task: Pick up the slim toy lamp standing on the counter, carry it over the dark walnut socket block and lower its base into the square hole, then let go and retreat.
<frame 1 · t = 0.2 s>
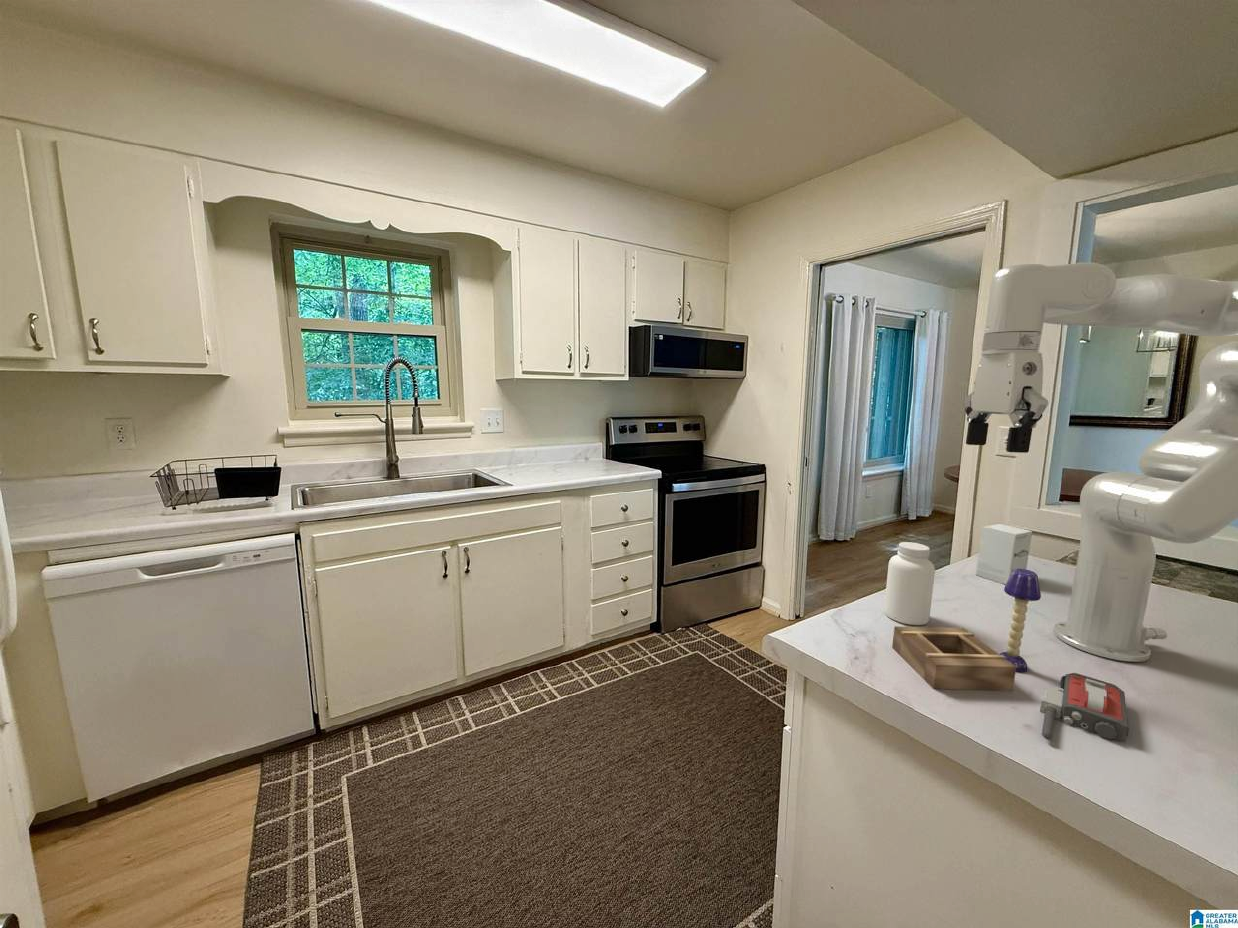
hand: (995, 448, 83), 36 cm above the counter, tool pointing down, fingers open, 9 cm apart
pill bottle: (905, 617, 99), on the counter
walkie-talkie: (1080, 723, 69), on the counter
socket: (947, 667, 81), on the counter
toy lamp: (1010, 666, 82), on the counter
supplement box: (999, 578, 120), on the counter
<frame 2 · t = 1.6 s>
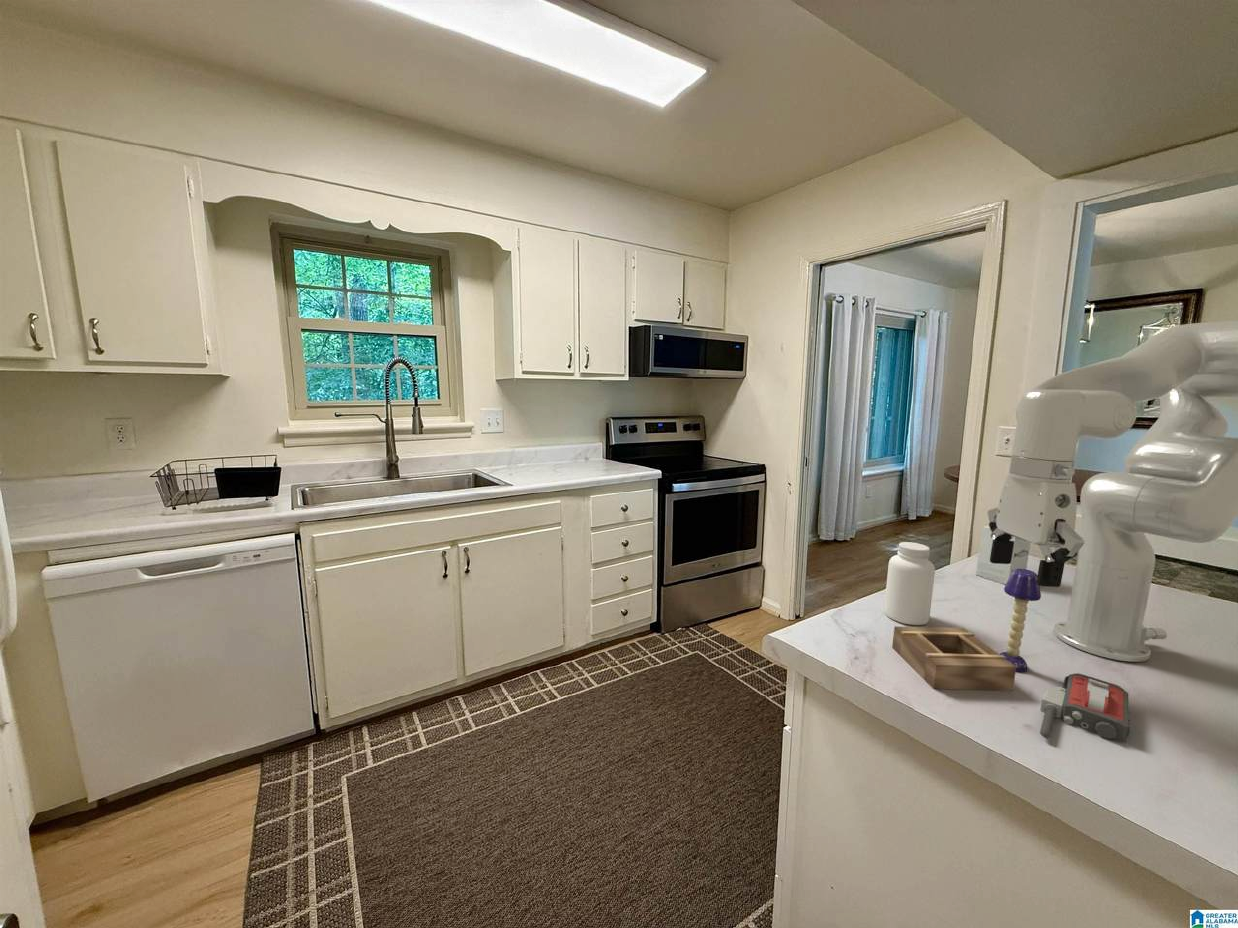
hand: (1022, 573, 79), 16 cm above the counter, tool pointing down, fingers open, 9 cm apart
nothing on the counter moved.
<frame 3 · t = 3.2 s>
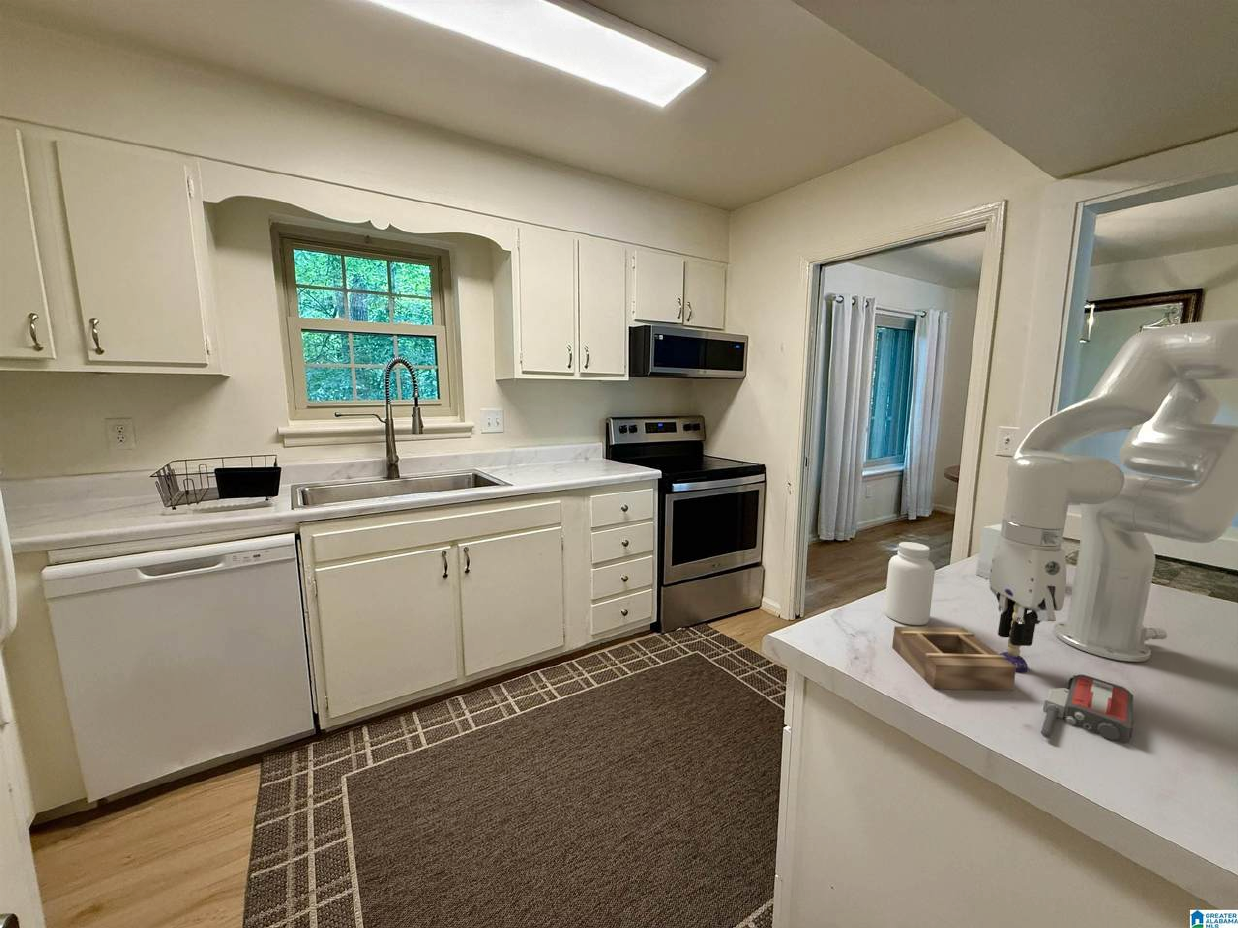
hand: (1014, 639, 81), 5 cm above the counter, tool pointing down, fingers closed on toy lamp
toy lamp: (1010, 666, 82), on the counter, touching gripper
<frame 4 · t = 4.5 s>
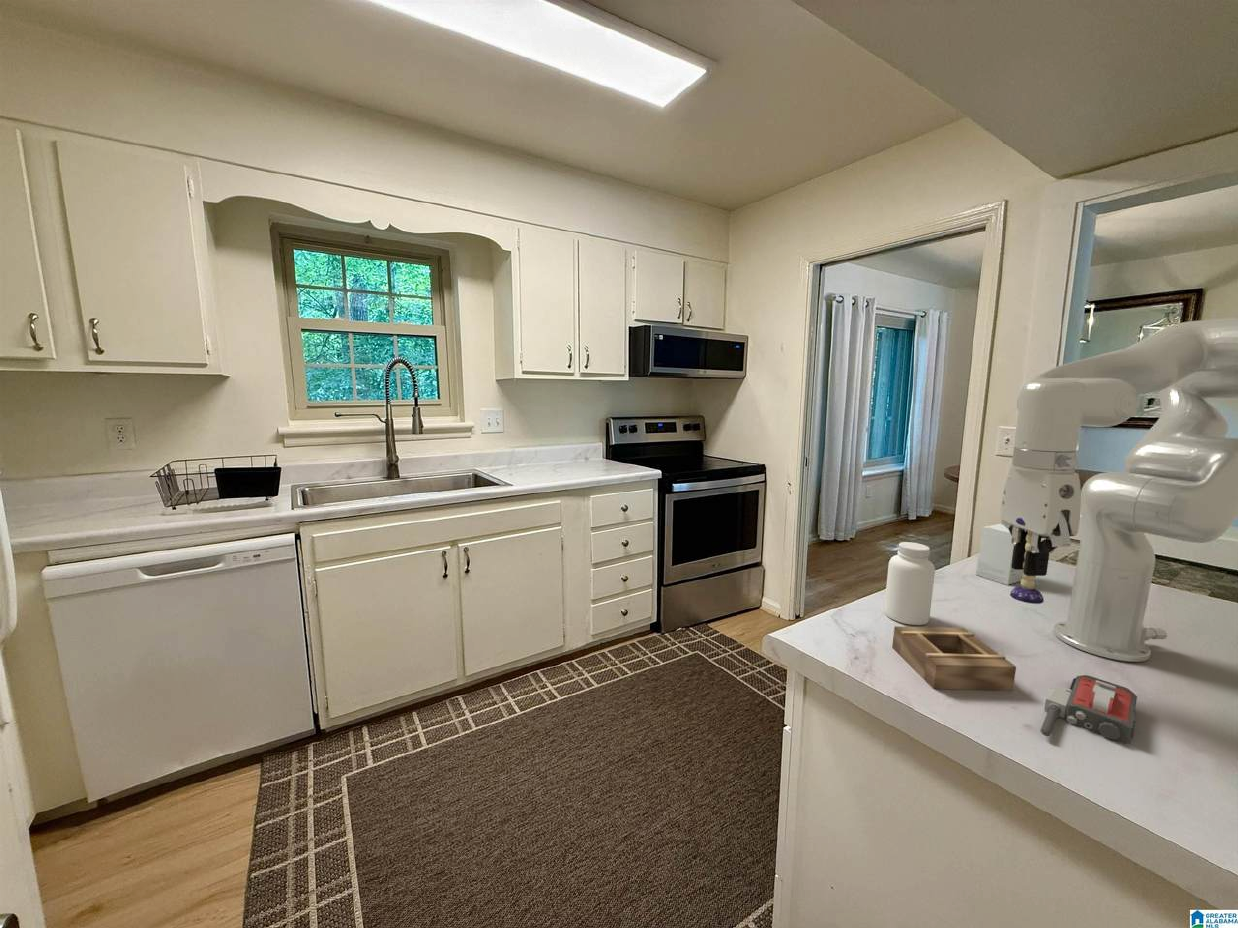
hand: (1028, 571, 79), 17 cm above the counter, tool pointing down, fingers closed on toy lamp
toy lamp: (1025, 600, 80), point 12 cm above the counter, touching gripper
everything else where it was.
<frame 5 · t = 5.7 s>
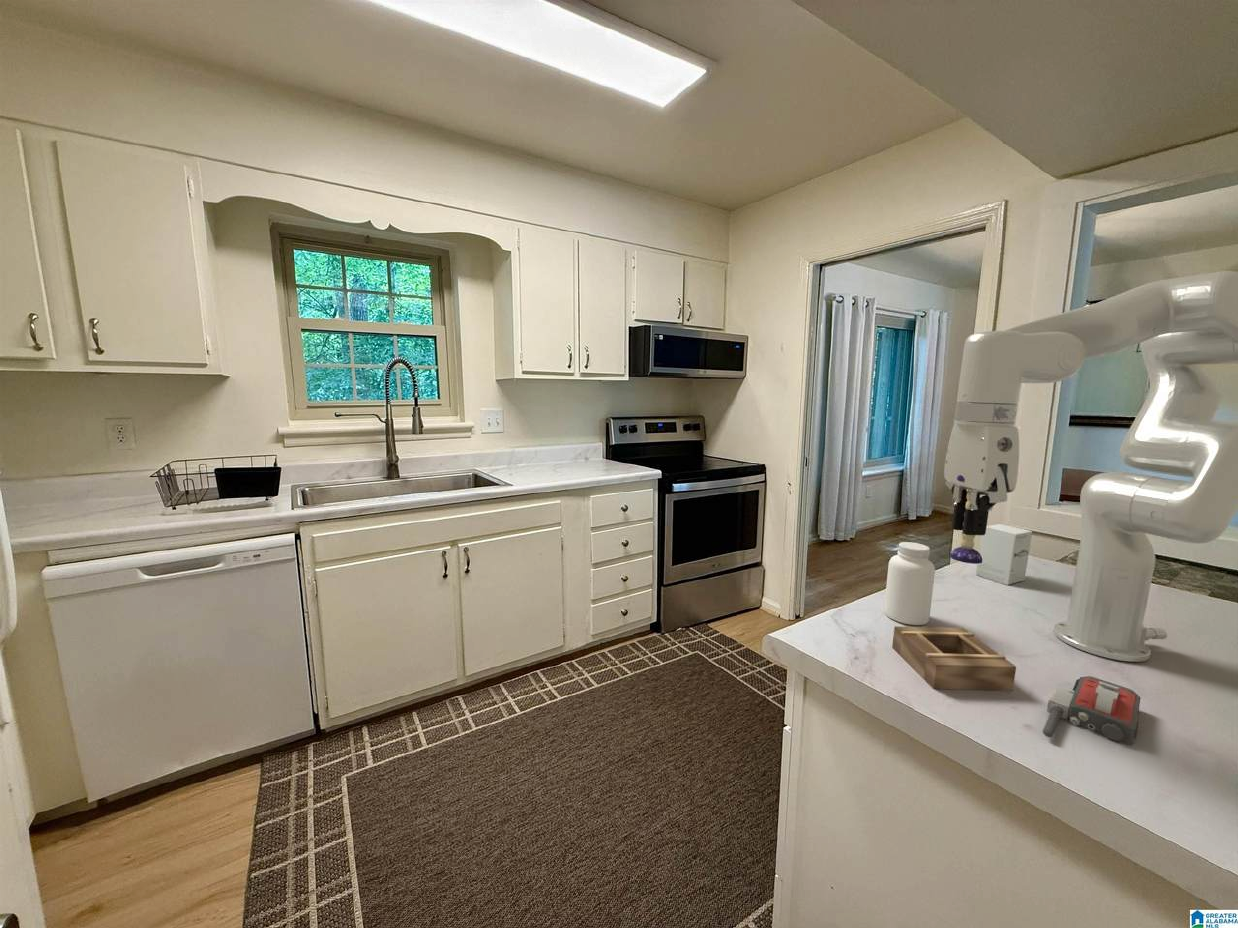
hand: (968, 531, 77), 23 cm above the counter, tool pointing down, fingers closed on toy lamp
toy lamp: (965, 561, 78), point 19 cm above the counter, touching gripper
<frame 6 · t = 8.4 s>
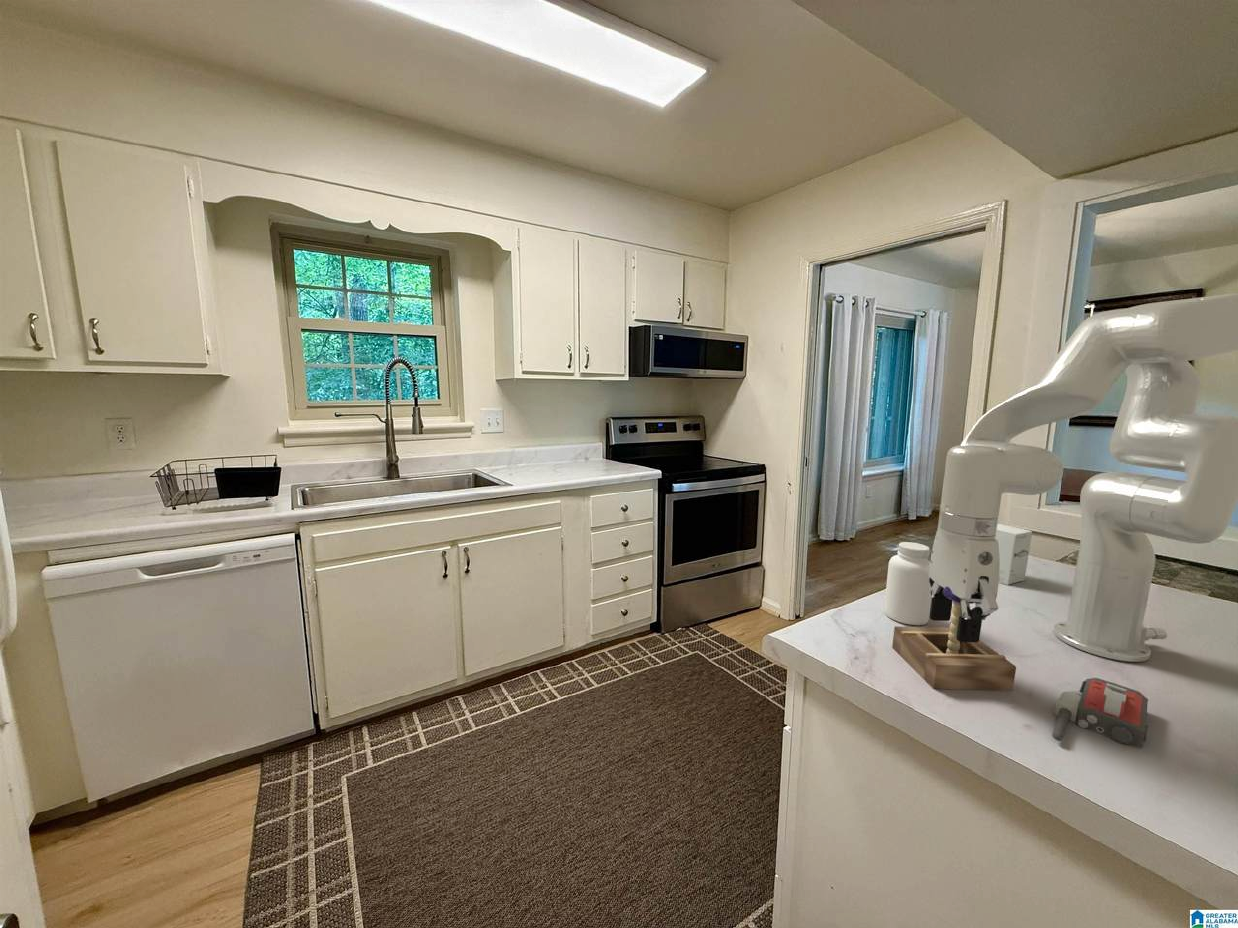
hand: (952, 629, 80), 7 cm above the counter, tool pointing down, fingers open, 6 cm apart
toy lamp: (950, 669, 81), resting in socket
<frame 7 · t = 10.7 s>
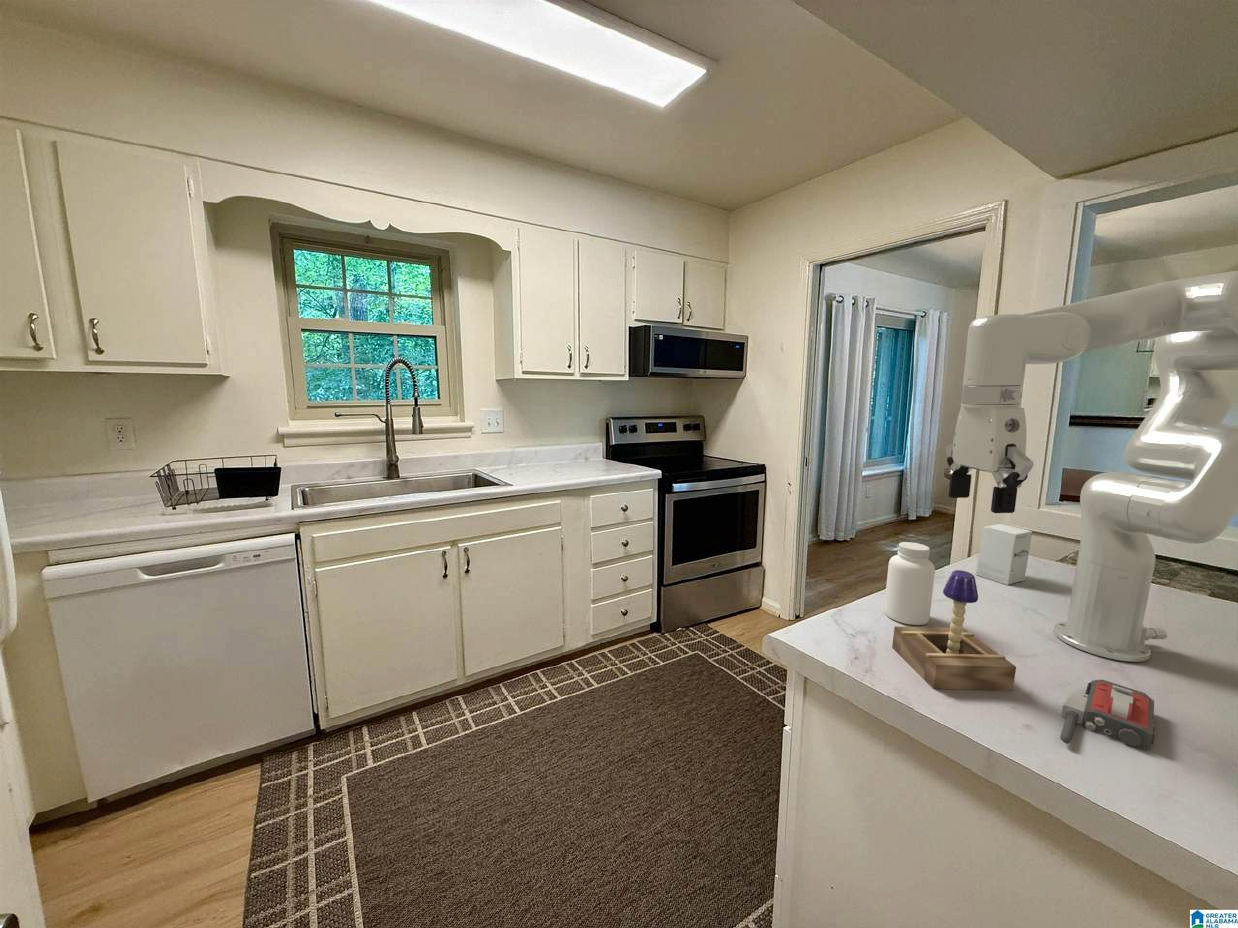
hand: (979, 504, 79), 27 cm above the counter, tool pointing down, fingers open, 9 cm apart
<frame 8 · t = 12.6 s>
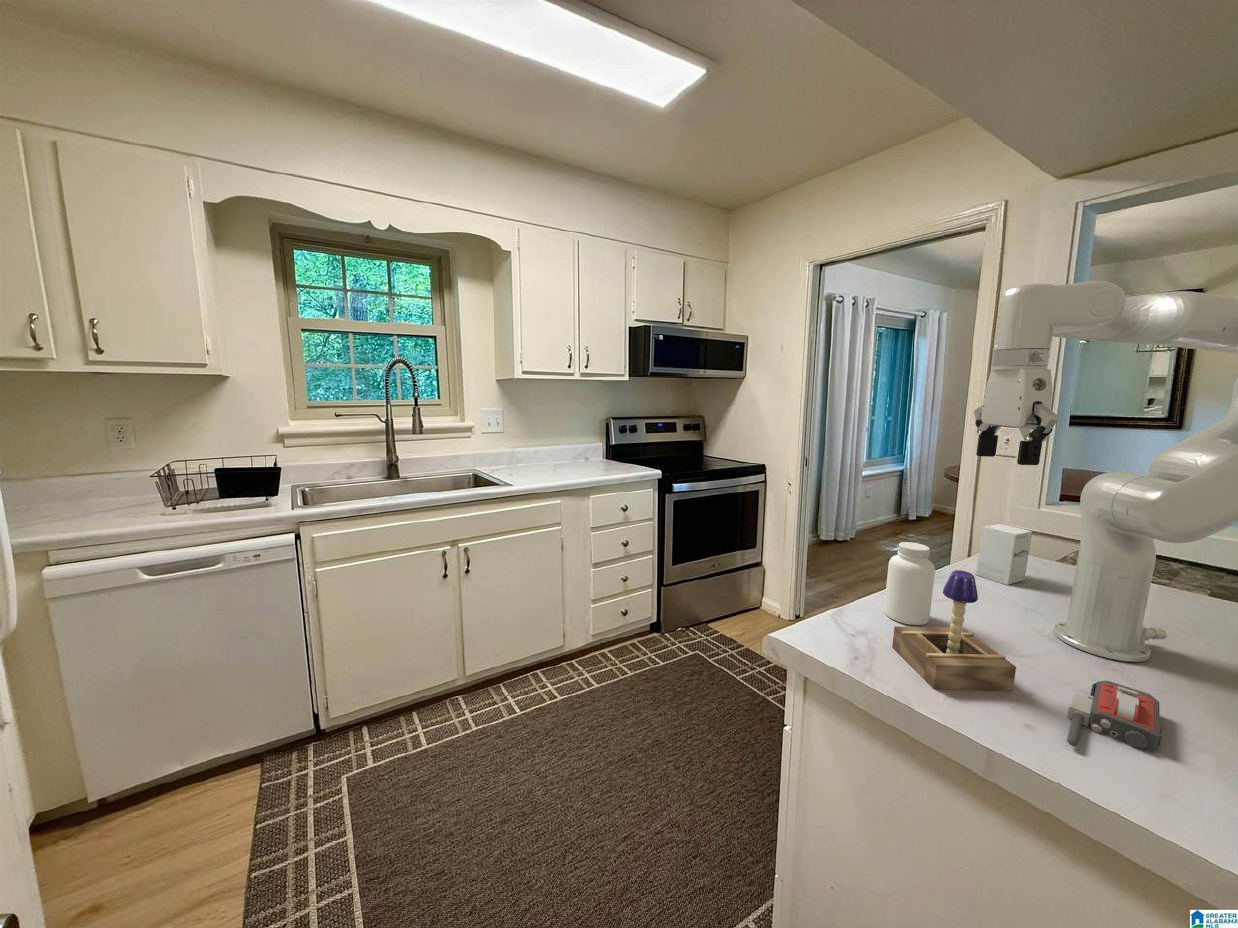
hand: (1005, 460, 86), 33 cm above the counter, tool pointing down, fingers open, 9 cm apart
at the end: toy lamp 0.4 cm off-centre on the socket, point 0.0 cm above the socket's base; toy lamp tilted 0°; the gripper is holding nothing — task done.
